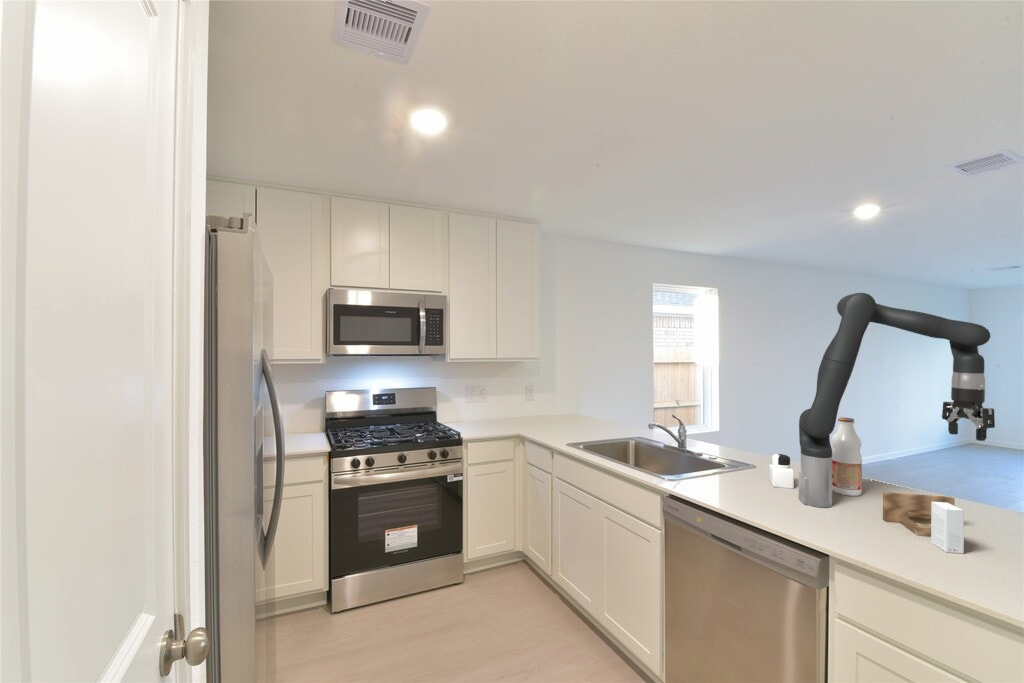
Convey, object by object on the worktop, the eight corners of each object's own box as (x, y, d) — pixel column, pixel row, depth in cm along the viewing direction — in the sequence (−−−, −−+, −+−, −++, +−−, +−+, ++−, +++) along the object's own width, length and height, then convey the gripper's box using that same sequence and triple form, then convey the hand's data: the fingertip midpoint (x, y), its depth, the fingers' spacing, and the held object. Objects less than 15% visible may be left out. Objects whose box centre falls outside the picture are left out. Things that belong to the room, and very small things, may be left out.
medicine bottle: (789, 483, 180) (789, 453, 180) (793, 489, 173) (793, 458, 173) (769, 481, 182) (769, 452, 182) (773, 487, 175) (772, 456, 175)
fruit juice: (847, 497, 163) (847, 421, 163) (824, 489, 173) (824, 416, 172) (868, 495, 165) (868, 420, 165) (844, 486, 175) (844, 415, 174)
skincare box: (964, 554, 121) (964, 510, 121) (946, 552, 122) (946, 509, 122) (947, 543, 127) (947, 502, 127) (930, 542, 128) (930, 501, 128)
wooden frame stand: (901, 534, 134) (902, 504, 134) (882, 519, 144) (882, 491, 144) (976, 540, 129) (976, 509, 129) (951, 525, 139) (951, 496, 139)
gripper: (935, 384, 150) (933, 432, 150) (979, 389, 136) (978, 442, 136) (957, 384, 150) (956, 432, 150) (1004, 389, 136) (1002, 442, 136)
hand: (966, 437), depth 143 cm, fingers open, 8 cm apart
